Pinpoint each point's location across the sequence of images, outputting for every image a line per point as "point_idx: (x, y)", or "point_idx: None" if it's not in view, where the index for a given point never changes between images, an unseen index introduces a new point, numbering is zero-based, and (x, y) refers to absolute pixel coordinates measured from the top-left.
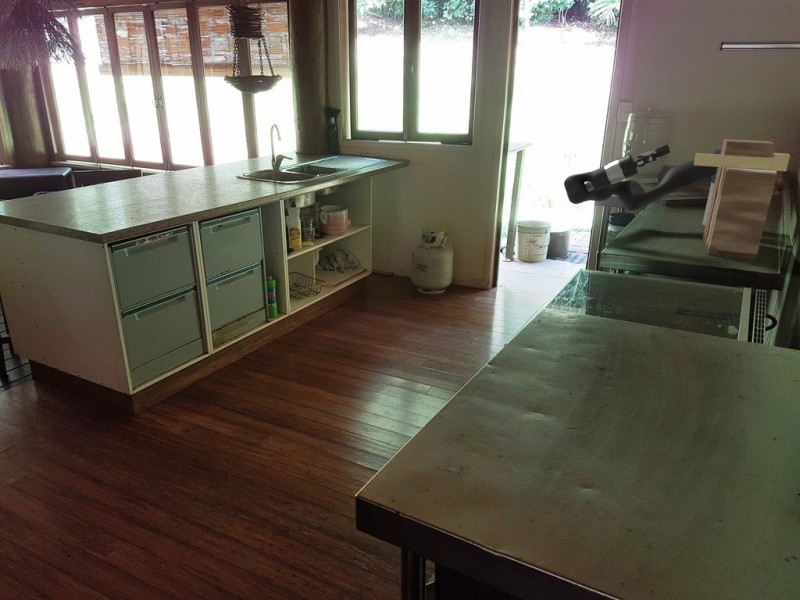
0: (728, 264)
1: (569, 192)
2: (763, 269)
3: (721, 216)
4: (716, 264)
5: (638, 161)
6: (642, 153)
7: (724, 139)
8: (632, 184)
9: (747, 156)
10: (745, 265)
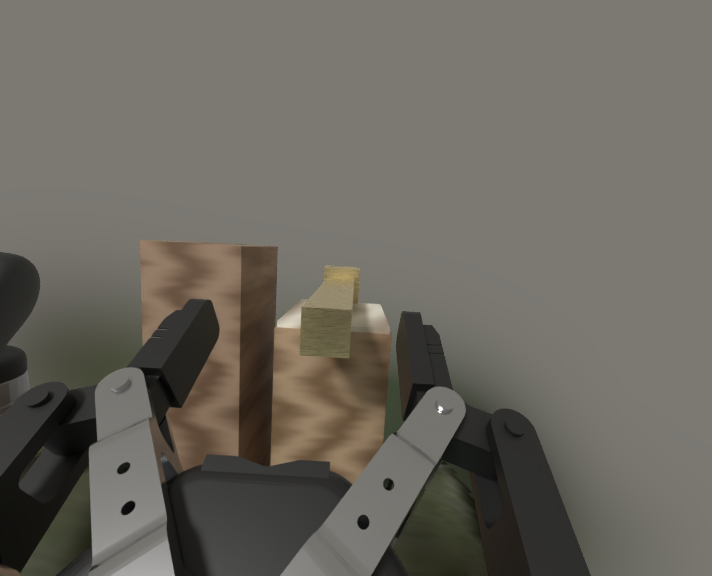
0: (443, 535)
1: None
2: (433, 481)
3: None
4: (466, 564)
5: None
6: (162, 541)
7: (159, 241)
8: None
9: (336, 283)
10: (425, 504)
